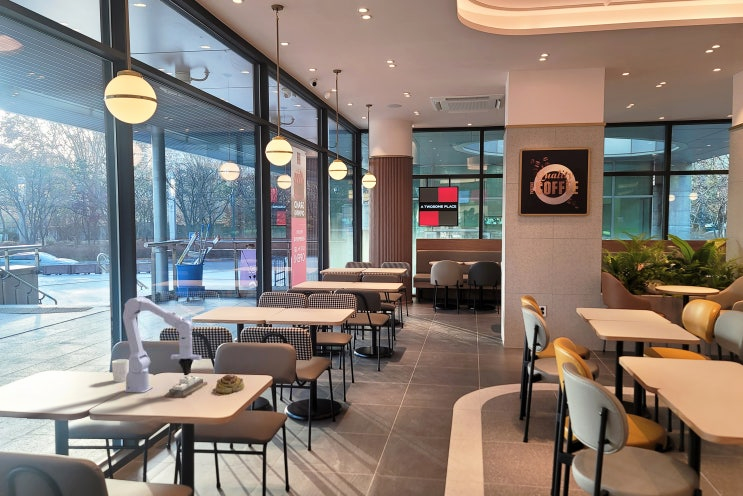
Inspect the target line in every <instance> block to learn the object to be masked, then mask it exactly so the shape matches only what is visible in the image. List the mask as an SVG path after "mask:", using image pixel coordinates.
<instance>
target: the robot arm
mask: <svg viewBox="0 0 743 496" xmlns="http://www.w3.org/2000/svg"><path fill="white" fill-rule="evenodd" d="M145 311H149V312H151V313H153V314H155V315H156V316H158V317H161V318H162V319H163V321H164V323H166V324H167V325H169V326H171V327H173V328H174V329H176V331H177V333H178V337H179V339H178V341H179V344H178V345H179V354H177V353H176V354H171V355H170V360H178V363H179V365H180V367H181V369H182V371H183V376H189V375H190V371H191V367H192V364H193V363H194V361H201V360H202V355H201V354H193V335H192V334H193V331H192V330H193V329H194V322H193V321H192V320H191V319H187V318H186V317H184V316H183V317H182V316H181V315H178V314H177V312H176V311H167V310H166V309H164V308H162V307H161V306H159V305H158V304H156V303H155V302H153V301H152V300H151V299H150V298H146V296H143V295H141V296H137V297H134V298H129V299H128V300H127V301H126V302H125V303H124V310H123V313H122V319H123V324H124V329H125V333H126V338H127V341H128V347H129V350H130V355H129V357H128V360H129V372H128V373H127V375H126V381H125V391H124V393H138V394H139V393H142V394H143V393H145V392H147V391H149V390H151V389H153V386H150V385H149V383H150V382H149V367H150V365H151V359H150V357H149V356H148V353H147V351H146V350H144V346H143V343H142V340H141V335H140V330H139V324H138V322H137V316H138V315H140V313H141V312H145Z"/></svg>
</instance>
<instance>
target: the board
mask: <svg viewBox="0 0 743 496" xmlns="http://www.w3.org/2000/svg"><path fill="white" fill-rule="evenodd" d="M207 385H208V382H207V381H206V382H205V381H204V379H203V378H200V380H199V381H197V382H196V383H194V384H192V385H190V386H187V388H185V389H183V390H173V387H172V388H170V389H169V390H168V392H166V393H165V394H164V397H165V398H184V399H185V398H187V397H189V396H190V395H192V394H194V393H195V392H197V391H199V390H200V389H202V388H204V387H206V386H207ZM203 386H204V387H203Z"/></svg>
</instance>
